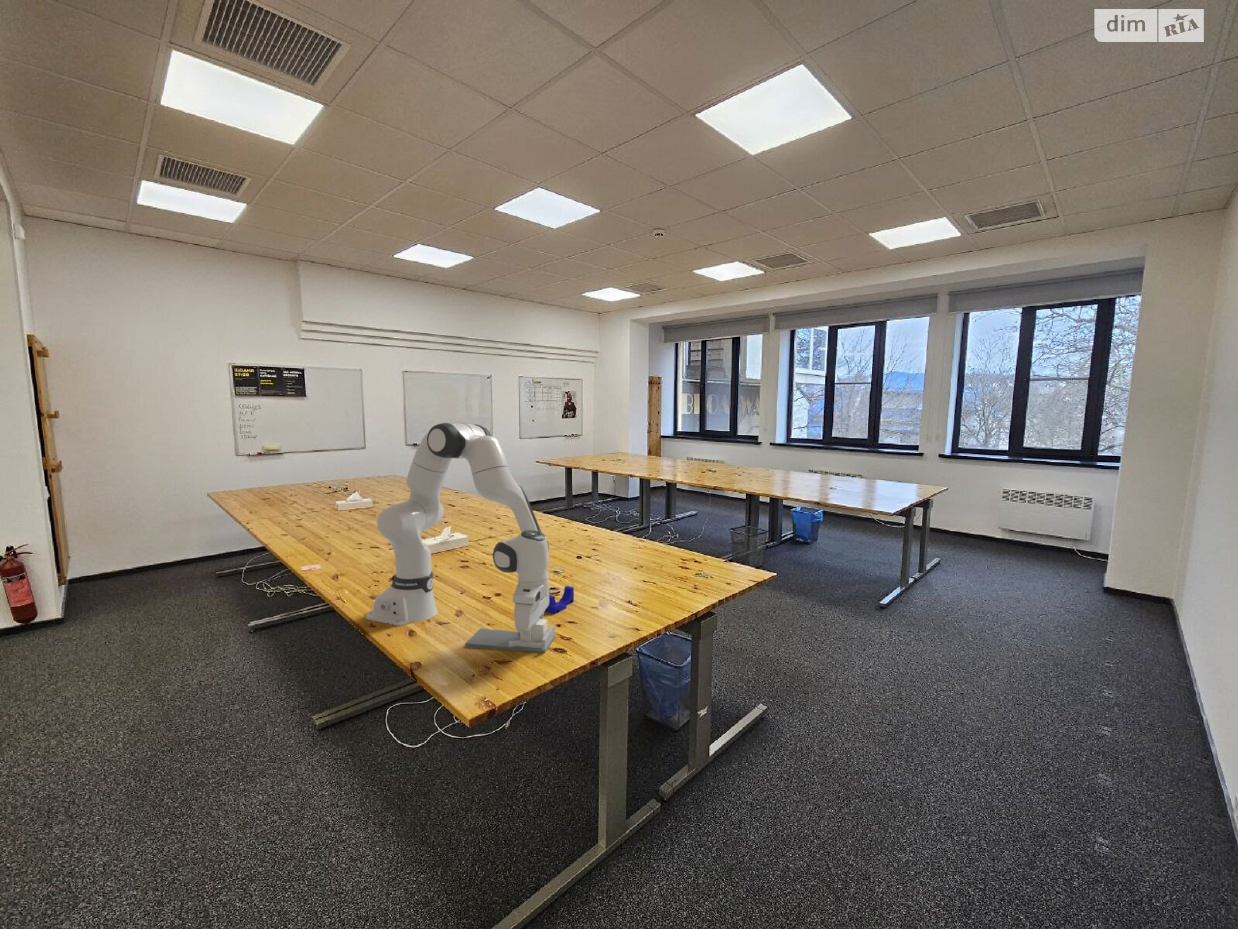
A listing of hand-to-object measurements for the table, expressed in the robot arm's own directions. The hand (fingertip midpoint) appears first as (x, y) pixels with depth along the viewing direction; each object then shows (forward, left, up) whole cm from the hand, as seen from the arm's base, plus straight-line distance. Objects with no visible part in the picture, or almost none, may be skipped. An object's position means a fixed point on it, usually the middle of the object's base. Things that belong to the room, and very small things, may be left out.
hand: (533, 632), depth 147 cm
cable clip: (0, +28, -4) cm, 29 cm away
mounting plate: (-7, 0, -4) cm, 8 cm away
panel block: (0, 0, -2) cm, 3 cm away
